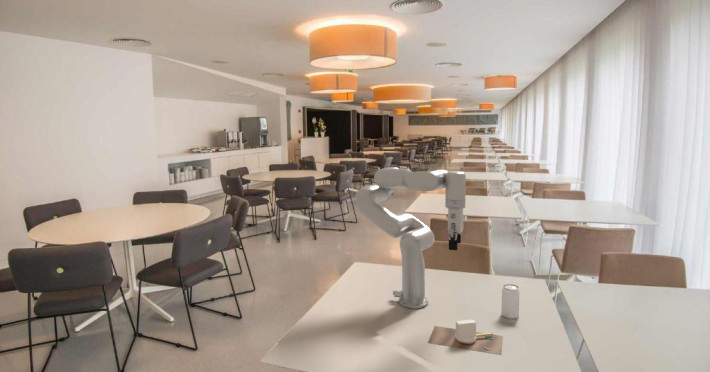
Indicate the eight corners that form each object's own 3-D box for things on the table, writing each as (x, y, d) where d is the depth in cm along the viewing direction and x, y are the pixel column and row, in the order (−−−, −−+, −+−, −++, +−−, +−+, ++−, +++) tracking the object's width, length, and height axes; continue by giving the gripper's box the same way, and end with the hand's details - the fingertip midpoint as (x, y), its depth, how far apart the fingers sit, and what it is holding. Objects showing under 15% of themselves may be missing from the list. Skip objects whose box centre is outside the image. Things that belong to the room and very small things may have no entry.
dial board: (427, 346, 146) (427, 342, 145) (434, 329, 158) (434, 325, 157) (501, 359, 137) (501, 354, 137) (502, 340, 149) (502, 335, 149)
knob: (460, 344, 143) (460, 327, 142) (452, 334, 150) (452, 318, 149) (497, 340, 145) (497, 323, 144) (487, 330, 152) (488, 314, 151)
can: (520, 319, 164) (521, 290, 162) (502, 318, 165) (503, 289, 163) (517, 312, 170) (518, 284, 168) (500, 311, 171) (501, 283, 170)
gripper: (462, 208, 154) (461, 253, 156) (467, 199, 170) (467, 241, 172) (441, 207, 156) (441, 251, 159) (448, 199, 172) (448, 239, 175)
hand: (454, 246), depth 165 cm, fingers open, 9 cm apart
